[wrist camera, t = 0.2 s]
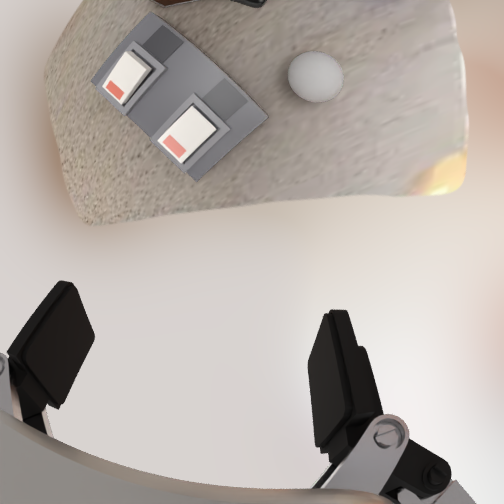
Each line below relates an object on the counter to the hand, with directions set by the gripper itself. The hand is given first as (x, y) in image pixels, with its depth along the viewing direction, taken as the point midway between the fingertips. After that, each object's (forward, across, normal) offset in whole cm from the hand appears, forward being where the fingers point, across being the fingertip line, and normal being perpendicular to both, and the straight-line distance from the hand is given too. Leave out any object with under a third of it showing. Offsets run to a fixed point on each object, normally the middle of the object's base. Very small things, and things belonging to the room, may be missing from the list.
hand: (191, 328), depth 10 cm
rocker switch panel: (+31, +9, -8) cm, 33 cm away
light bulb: (+31, -7, -11) cm, 33 cm away
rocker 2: (+25, +6, -3) cm, 26 cm away
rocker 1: (+25, +14, -11) cm, 31 cm away
